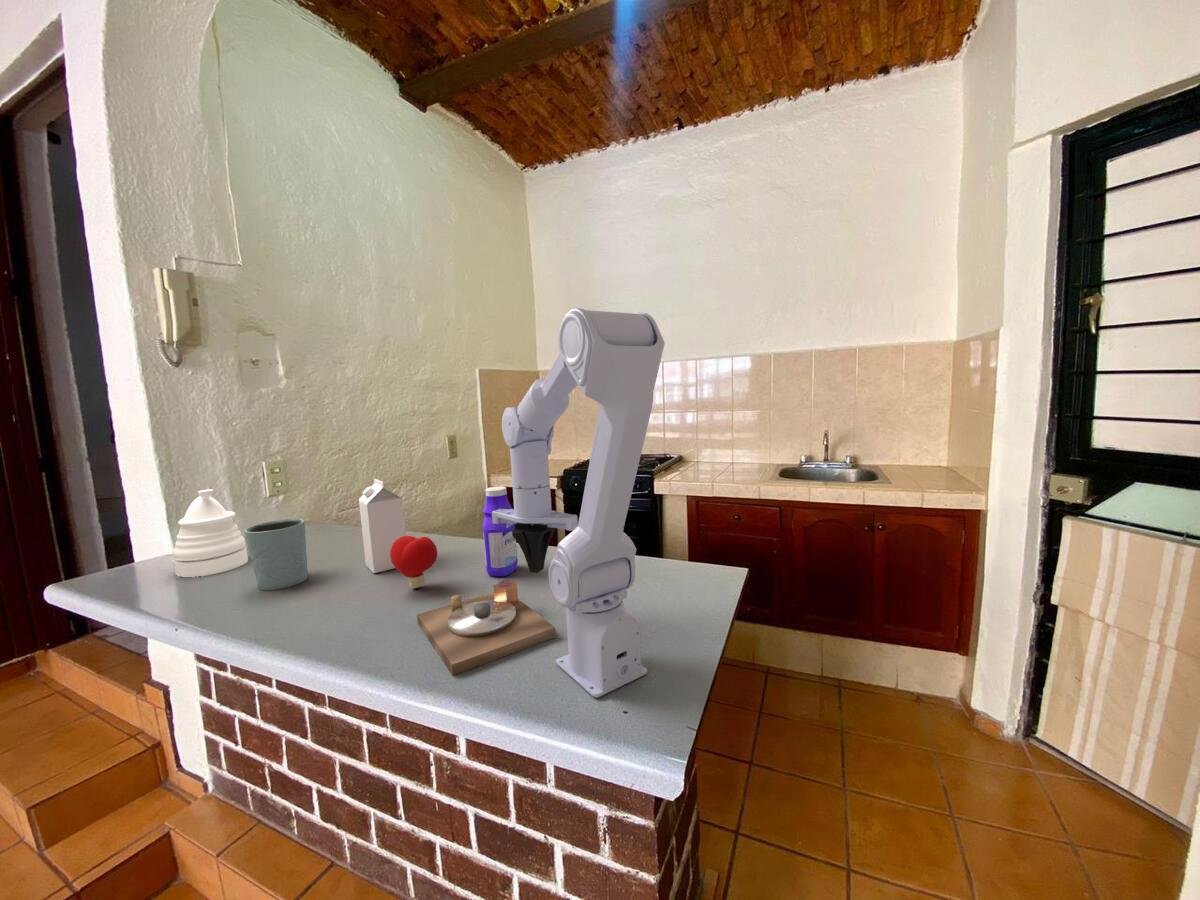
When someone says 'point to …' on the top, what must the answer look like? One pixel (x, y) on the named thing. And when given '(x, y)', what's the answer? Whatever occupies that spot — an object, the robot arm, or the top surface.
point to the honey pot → (208, 539)
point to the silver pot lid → (496, 621)
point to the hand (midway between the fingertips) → (536, 570)
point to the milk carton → (380, 525)
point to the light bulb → (413, 558)
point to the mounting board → (482, 649)
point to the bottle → (498, 535)
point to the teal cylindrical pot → (278, 553)
